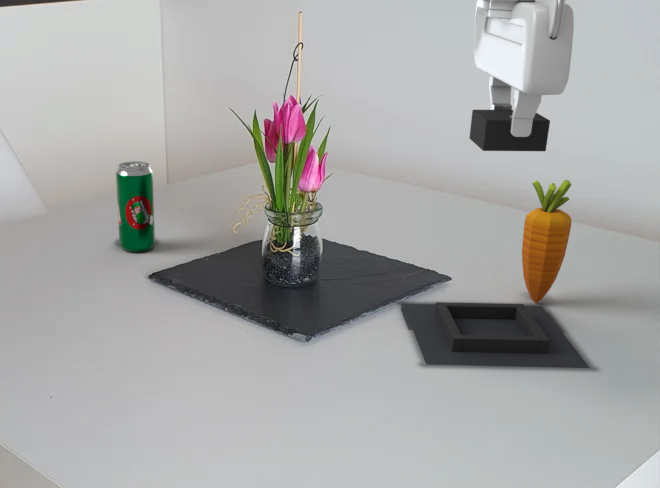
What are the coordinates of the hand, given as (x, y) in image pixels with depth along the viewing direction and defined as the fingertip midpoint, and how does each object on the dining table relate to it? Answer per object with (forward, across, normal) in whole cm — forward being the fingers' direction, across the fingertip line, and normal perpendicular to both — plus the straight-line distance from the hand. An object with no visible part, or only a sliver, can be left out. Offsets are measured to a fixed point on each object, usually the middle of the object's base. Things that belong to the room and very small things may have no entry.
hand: (508, 128), depth 83 cm
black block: (+2, 0, 0) cm, 2 cm away
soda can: (+22, +27, +42) cm, 55 cm away
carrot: (+22, +9, -8) cm, 25 cm away
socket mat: (+22, -2, 0) cm, 22 cm away
